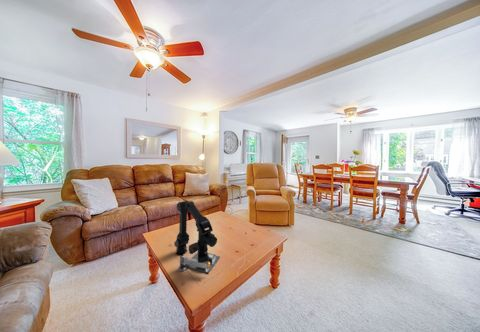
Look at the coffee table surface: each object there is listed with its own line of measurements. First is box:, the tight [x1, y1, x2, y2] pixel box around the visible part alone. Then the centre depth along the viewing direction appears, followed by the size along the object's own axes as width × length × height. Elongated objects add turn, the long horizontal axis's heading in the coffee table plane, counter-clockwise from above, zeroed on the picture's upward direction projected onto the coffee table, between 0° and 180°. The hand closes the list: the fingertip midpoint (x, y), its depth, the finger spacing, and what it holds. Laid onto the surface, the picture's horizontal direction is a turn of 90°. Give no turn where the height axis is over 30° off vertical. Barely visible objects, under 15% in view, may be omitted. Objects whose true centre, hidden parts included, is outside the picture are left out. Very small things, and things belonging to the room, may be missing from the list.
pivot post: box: [177, 254, 187, 273], centre depth 99 cm, size 5×5×8 cm
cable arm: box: [184, 256, 210, 269], centre depth 96 cm, size 18×2×3 cm, turn 75°
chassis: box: [184, 251, 221, 275], centre depth 106 cm, size 18×16×3 cm
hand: (202, 262), depth 98 cm, fingers closed
